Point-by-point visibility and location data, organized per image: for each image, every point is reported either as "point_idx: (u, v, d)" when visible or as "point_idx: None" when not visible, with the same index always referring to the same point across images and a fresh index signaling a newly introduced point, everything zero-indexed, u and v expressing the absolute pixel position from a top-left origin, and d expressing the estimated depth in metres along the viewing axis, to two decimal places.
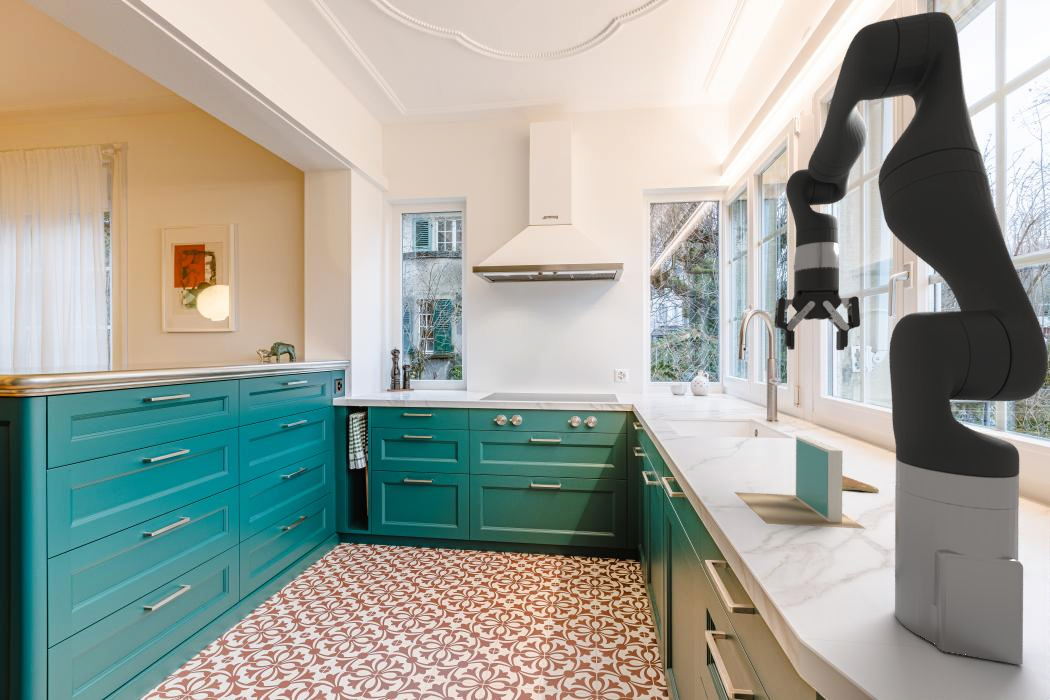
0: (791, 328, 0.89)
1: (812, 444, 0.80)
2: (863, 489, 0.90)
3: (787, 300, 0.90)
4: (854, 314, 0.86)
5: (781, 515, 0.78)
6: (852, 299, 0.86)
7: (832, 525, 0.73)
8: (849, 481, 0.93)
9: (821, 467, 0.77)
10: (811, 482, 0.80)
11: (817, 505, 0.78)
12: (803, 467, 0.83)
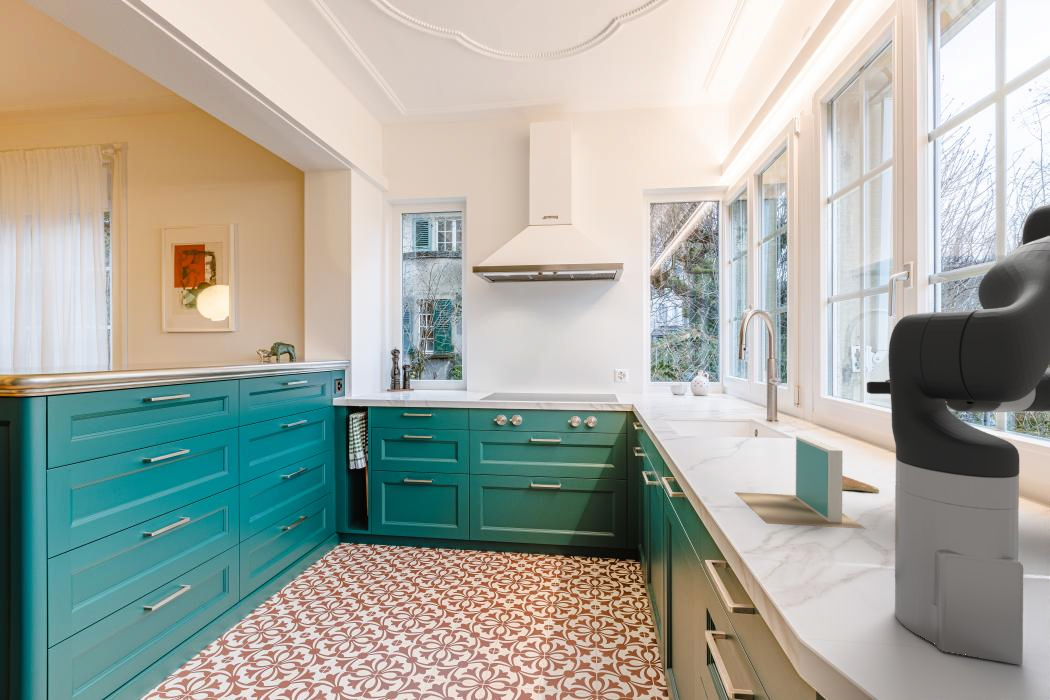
0: None
1: (812, 444, 0.80)
2: (863, 489, 0.90)
3: None
4: None
5: (781, 515, 0.78)
6: None
7: (832, 525, 0.73)
8: (849, 481, 0.93)
9: (821, 467, 0.77)
10: (811, 482, 0.80)
11: (817, 505, 0.78)
12: (803, 467, 0.83)
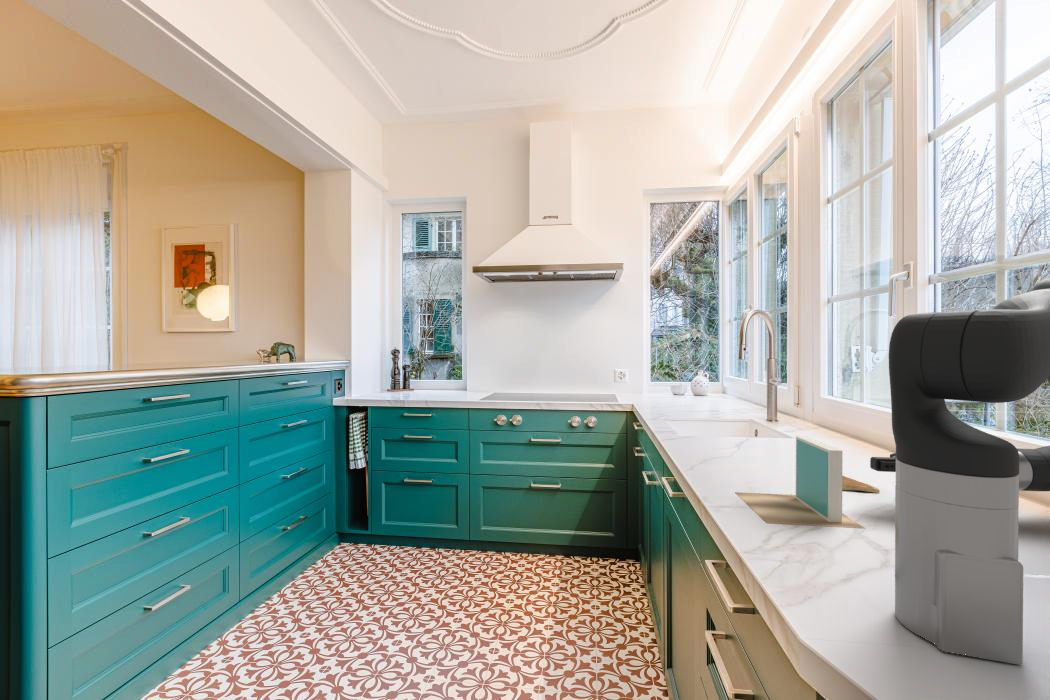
0: None
1: (812, 444, 0.80)
2: (864, 489, 0.90)
3: None
4: None
5: (781, 515, 0.78)
6: None
7: (832, 525, 0.73)
8: (850, 481, 0.93)
9: (821, 467, 0.77)
10: (811, 482, 0.80)
11: (817, 505, 0.78)
12: (803, 467, 0.83)
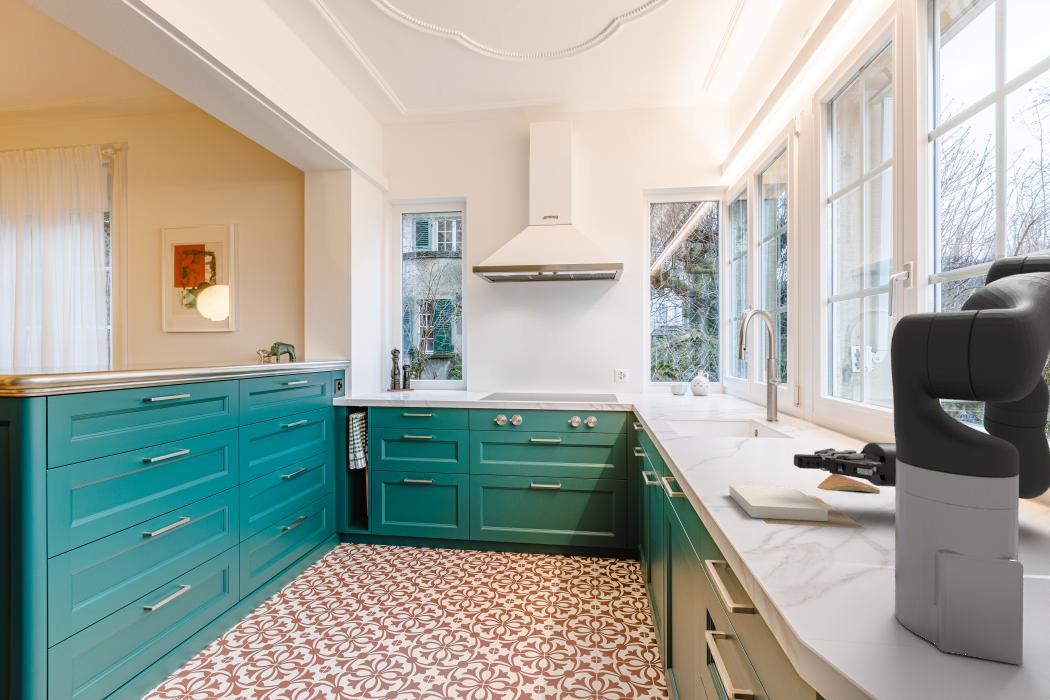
0: (819, 454, 0.81)
1: None
2: (864, 489, 0.90)
3: None
4: (846, 460, 0.77)
5: None
6: None
7: (832, 525, 0.73)
8: (850, 481, 0.93)
9: None
10: None
11: None
12: None
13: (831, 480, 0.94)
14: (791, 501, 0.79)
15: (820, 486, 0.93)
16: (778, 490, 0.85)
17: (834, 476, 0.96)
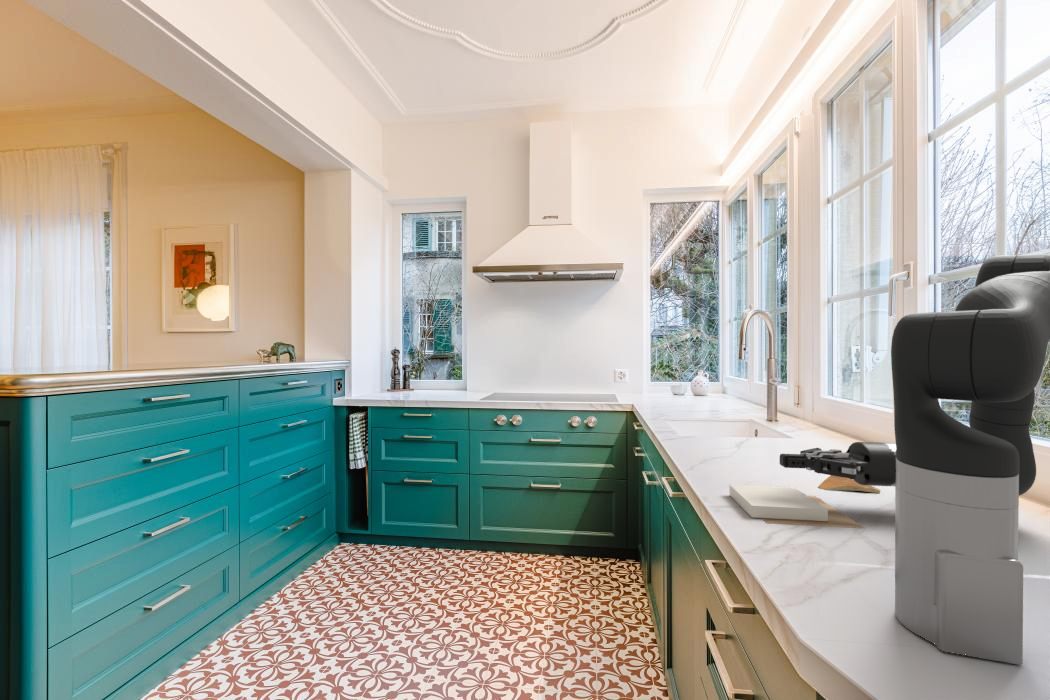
0: (804, 453, 0.81)
1: None
2: (865, 490, 0.90)
3: None
4: (831, 460, 0.77)
5: None
6: (852, 463, 0.75)
7: (832, 525, 0.73)
8: (850, 482, 0.93)
9: None
10: None
11: None
12: None
13: (831, 480, 0.94)
14: (791, 501, 0.79)
15: (820, 486, 0.93)
16: (778, 490, 0.85)
17: (834, 476, 0.96)
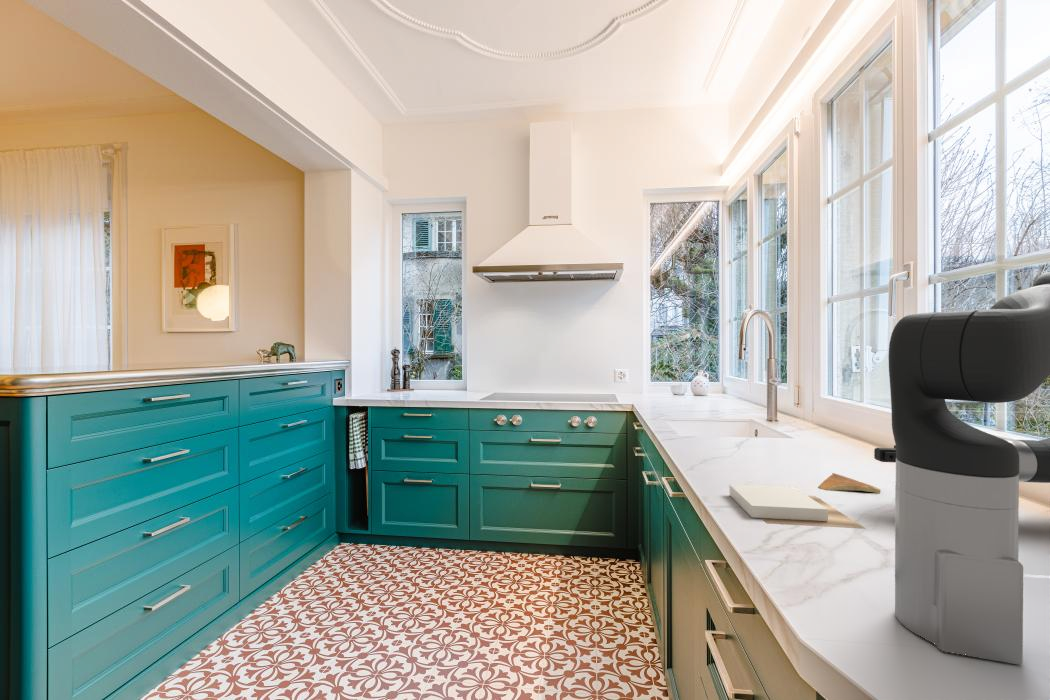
0: None
1: None
2: (865, 489, 0.90)
3: None
4: None
5: None
6: None
7: (832, 525, 0.73)
8: (851, 481, 0.92)
9: None
10: None
11: None
12: None
13: (832, 480, 0.94)
14: (791, 501, 0.79)
15: (821, 486, 0.93)
16: (778, 490, 0.85)
17: (834, 476, 0.96)
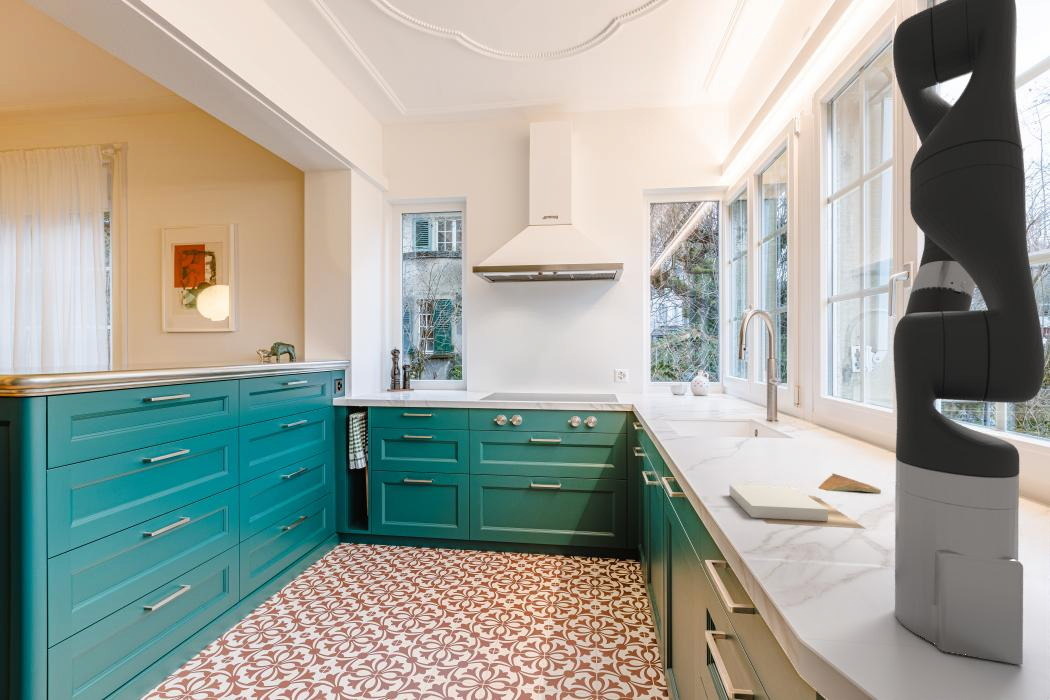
0: None
1: None
2: (866, 490, 0.90)
3: None
4: None
5: None
6: None
7: (832, 525, 0.73)
8: (851, 482, 0.92)
9: None
10: None
11: None
12: None
13: (832, 481, 0.94)
14: (791, 501, 0.79)
15: (821, 487, 0.93)
16: (778, 490, 0.85)
17: (835, 477, 0.96)
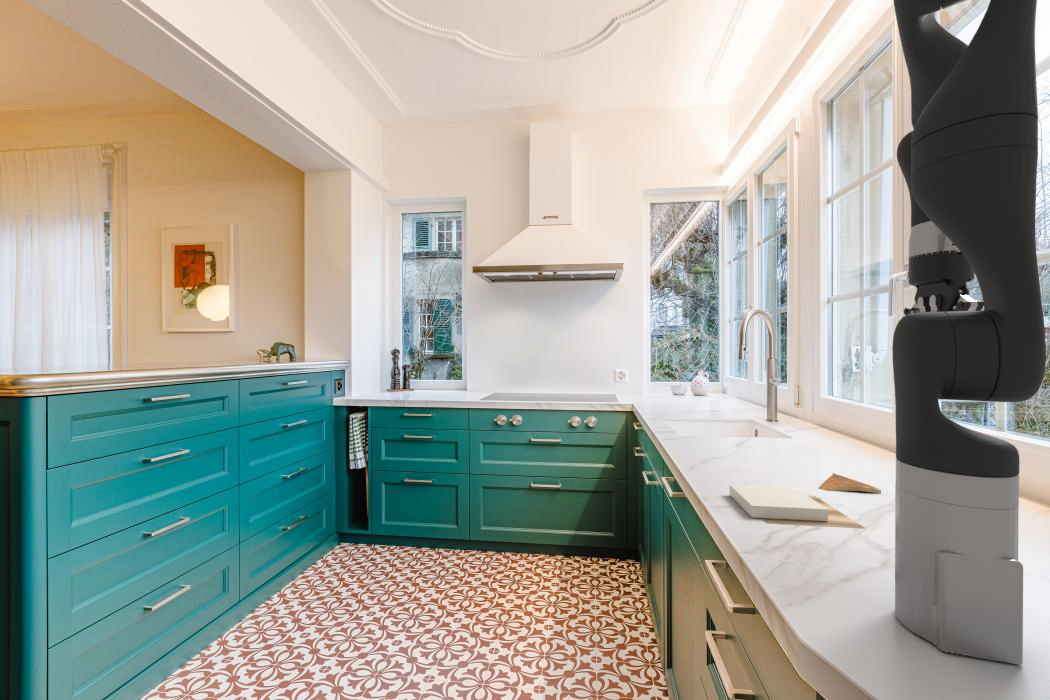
0: None
1: None
2: (866, 490, 0.90)
3: (914, 305, 0.74)
4: None
5: None
6: (959, 303, 0.64)
7: (832, 525, 0.73)
8: (851, 482, 0.92)
9: None
10: None
11: None
12: None
13: (832, 480, 0.94)
14: (791, 501, 0.79)
15: (822, 487, 0.93)
16: (778, 490, 0.85)
17: (835, 476, 0.95)
